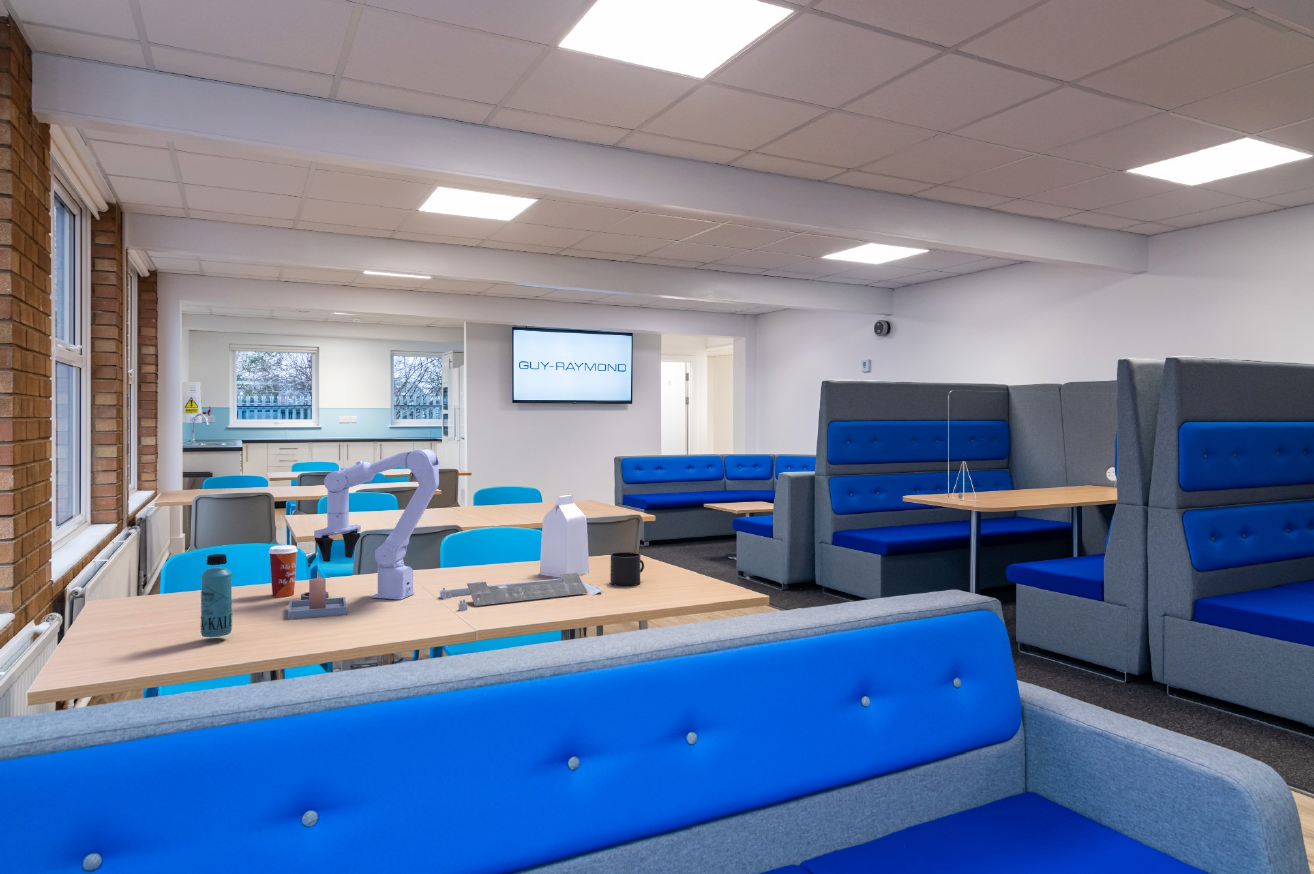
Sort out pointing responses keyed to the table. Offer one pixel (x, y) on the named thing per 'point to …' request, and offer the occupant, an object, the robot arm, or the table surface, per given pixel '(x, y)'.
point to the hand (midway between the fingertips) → (337, 559)
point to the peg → (317, 593)
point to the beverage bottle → (216, 599)
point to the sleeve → (306, 596)
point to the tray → (302, 609)
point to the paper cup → (283, 570)
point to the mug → (625, 568)
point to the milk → (564, 540)
